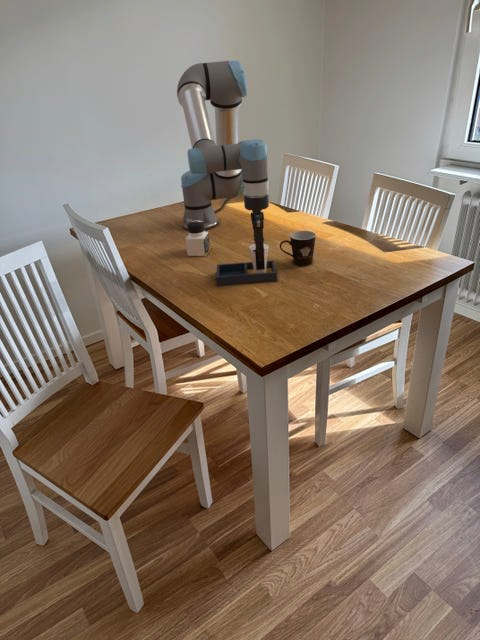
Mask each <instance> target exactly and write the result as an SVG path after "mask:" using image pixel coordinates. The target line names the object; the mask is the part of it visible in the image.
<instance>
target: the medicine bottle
mask: <svg viewBox="0 0 480 640" xmlns="http://www.w3.org/2000/svg"><path fill="white" fill-rule="evenodd" d="M187 226H188V230H187V231H188V235H187V236H186V237H185V239H184V240H185V247H186V253H187V257H206V256H207V255H208V254H209V252H210V251H211V243H210V234H209V231H206V230H204V223H203V222H202V221H192V222H190V223H188V225H187Z"/></svg>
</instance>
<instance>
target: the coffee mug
mask: <svg viewBox="0 0 480 640" xmlns="http://www.w3.org/2000/svg"><path fill="white" fill-rule="evenodd" d="M289 238H290V240H287V239H285V240H282V241H281V242H280V243H279V249H280V250H281V251H282V252H283V253H284V254H286V255H288V256H290V257H292V261H293V264H294V265H295V266H297V267H308V266H311V265H312V264H313V260H314V251H315V244H316V238H317V234H316V232H314V231H311V230H297V231H293V232H292V233H290V234H289ZM284 243H287V244H289V245H290V247H291V253H290V252H287V251H286V250H284V249H283V248H282V245H283V244H284Z"/></svg>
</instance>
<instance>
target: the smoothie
mask: <svg viewBox="0 0 480 640" xmlns="http://www.w3.org/2000/svg"><path fill="white" fill-rule="evenodd" d="M255 249H256V246H255V244H254V243H252V244H251V245H249V246H248V251H249V252H250V257H251V262H252V263H253V268H254V273H266V265H267V261H268V253H269V249H270V246H269V245H268V244H267V243H264V263H265V269H264V270H256V256H255V252H253V250H255Z"/></svg>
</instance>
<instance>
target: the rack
mask: <svg viewBox="0 0 480 640" xmlns="http://www.w3.org/2000/svg"><path fill="white" fill-rule="evenodd" d="M275 263H276V262H275V260H267V265H266V273H254V268H253V263H252V261H246V262H234V263H221V264H220V263H218V264H217V265H216V274H215V275H216V276H215V277H216V286H218V287H219V286H231V285H243V284H244V285H246V284H257V283H270V282H278V281H277V280H278V275H277V274H278V272H277V268H276V264H275Z"/></svg>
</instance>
